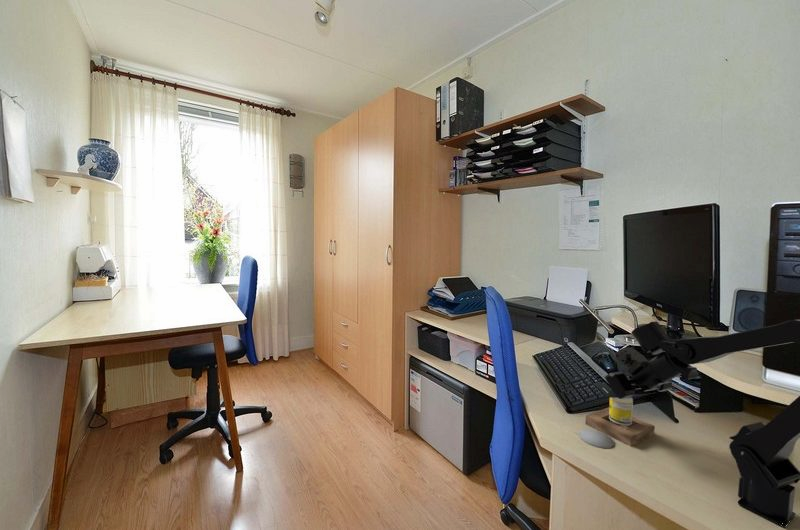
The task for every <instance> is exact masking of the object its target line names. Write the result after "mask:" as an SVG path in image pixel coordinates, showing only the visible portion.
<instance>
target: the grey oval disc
mask: <svg viewBox="0 0 800 530" xmlns="http://www.w3.org/2000/svg"><path fill="white" fill-rule="evenodd" d="M578 436H579V438H580V440H581V441H583V442H584V443H586V444H588V445H590V446H593V447H596V448H600V449H601V448H602V449H610V448H612V447H613V446H614V444H615V443H614V440H613V439H612V437H611V436H609V435H607V434H605V433H603V432H601V431H599V430H596V429H591V428H590V429H587V428H586V429H581V430H579V432H578Z"/></svg>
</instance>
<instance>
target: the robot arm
mask: <svg viewBox="0 0 800 530" xmlns="http://www.w3.org/2000/svg"><path fill="white" fill-rule="evenodd" d="M630 334H631V335H632V337H634V339H635V340H636V342H637V343H638V345H639V346H640V347H641V349H642V350H643V351H644V352H645V353H646V354H649V353H651V355H653V356H654V355H656V356H655V357H653V358H651V359H650V360H648V359H647V358H646V357H645V356H644V355H643V354H641V352H638V350H636V349H635V348H633V347H621V349H618V351H615V356H614V357H615V360H617V361H618V362H619V363H620V364H622V365H624V366H625V367H627V369H626V371H627V372H628V376H626V374H625V372H622V371H615V372H609V373H608V374H606V375H605V376H604V379H605V380H606V382H607V384H608V385H609V387H610V390H609V391H608V393H607V395H608V397H609V399H610V398H619V399H623V398H630V397H632V398H633V397H634V396H636V395H651V394H657V393H658V391H659V392H660V393H661V392H666V391H668V390H671V389H672V388H673V383H672V381H673V379H675V378H677V377H679V376H681V375H682V377H683V378H684V379H685V380H692V379H697V378H698V373H697V371H698V368H697V367H696V366H695V367H694V366H692V365H697V364H704V363H705V364H706V363H710V362H713V361H716V360H719V359H723V358H724V357H727V356H729V355H732V354H734V353H739V352H744V351H745V352H747V351H751V350H757V349H763V348H767V347H775V346H780V345H786V344H787V345H788V344H791V343H794V344H795V343H796V344H797V345H800V319H788V320H785V321H783V322H781V323H777V324H773V325H772V324H771V325H767V326H762V327H758V328H757V327H756V328H753V329H748V330H744V331H740V332H733V333H730V334H724V335H718V336H699V337H689V338H673V339H672V338H670V336H669V335H668V334H667V332H666V331H665V330H664V329H663V327H662V326H661V324H660V323H659V322H658V321H650V322H649V323H646V324H643V325H641V326H639V327H636V328H634V329H632V331H631V332H630ZM728 438H729V439H730V440H732V441H731V442H730V443H729V446H728V448H729V450H730V453H731V455H732V457H733V458H734V460H735V462H736V465H737V468H738V472H739V475H740V477H739V482H738V491H737V492H738V493H737V496H738V497H739V500H738V501H737V505H739V506H741V507H743V508H744V509H746V510H748V511H750V512H753V513H754V514H756V513H757V514H756V515H758V516H760V515H761V516H760V517H762V516H763V517H762V518H764V517H765V518H764V519H766V518H768V519H769V520H768V519H767V520H768V521H770V520H772V521H774V522H776V523H778V524H780V525H782V526H786V525H787V524H788V523H789V521H790V520H791V519H792V518H793V517H794V516H795V517H796V512H794V504H795V503H794V502H795V492H796V491H795V490H796V487H795V486H793V484H798V483H799V482H800V470H799V469H798V468H797V466H796V465H794V463H793V462H792V461H791V460H790V459H789V457H790V455H791V454H792V452H793V451H794V448H795V445H796V444H797V441H798V440H799V439H800V395H799V396H798V397H796V398H795V399H794V400H793V401H791V403H789V404H788V405H787V406H786V407H784V409H782V410H781V411H780V412H779V413H778V414H777V415H775V416H774V418H772V419H771V420H770V421H769V422H768V423H766V424H764V423H763V422H762V421H757V422H753V423H749V424H744V425H743V426H742V427H740V429H739V430H738V432H737V433H736V434H735V435H731V436H729V437H728ZM795 517H794V518H795ZM794 518H793V519H794ZM793 519H792V520H793ZM772 521H771V522H772ZM774 522H773V523H774ZM776 523H775V524H776ZM782 523H783V524H782ZM778 524H777V525H778ZM789 524H790V523H789ZM789 524H788V525H789ZM780 525H779V526H780ZM788 525H787V526H788ZM782 526H781V527H782Z"/></svg>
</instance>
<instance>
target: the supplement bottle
mask: <svg viewBox="0 0 800 530" xmlns="http://www.w3.org/2000/svg"><path fill="white" fill-rule="evenodd" d="M633 402H634V399H633V397H630V398H623V399H619V398H610V397H609V405H608V407H609V419H610V420H611V421H612V422H611V423H613V424H616V425H618V426H623V425H624V426H623V427H626V426H629V425H631V424H632V416H633V405H634V403H633Z"/></svg>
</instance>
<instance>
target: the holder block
mask: <svg viewBox="0 0 800 530" xmlns="http://www.w3.org/2000/svg"><path fill="white" fill-rule="evenodd" d="M610 421H611V420H610V419H609V406H608V407H606V408H602V409H601V410H598V411H595V412H592V413H588V414H586V415H585V423H584V425H586V426H589V427H591V428H593V429H594V430H596V431H599V432H601V433H604V434H606V435H607V436H609V437H610V438H613V439H615V440H617V441H619V442H621V443H623V444H625V445H628V446H629V447H632V446H634V445H636V444H638V443H640V442H642V441H644V440H646V439H648V438H651V437H653V436H654V435H655V428H656V427H655V425H654V424H651V423H649V422H647V421H644V420H642V419H639V418H637V417H634V416H633V415H632V424H631V425H629V426H625V427H626V428H624V427H622V426H621V425H619V424H616V423H614V422H610Z"/></svg>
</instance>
